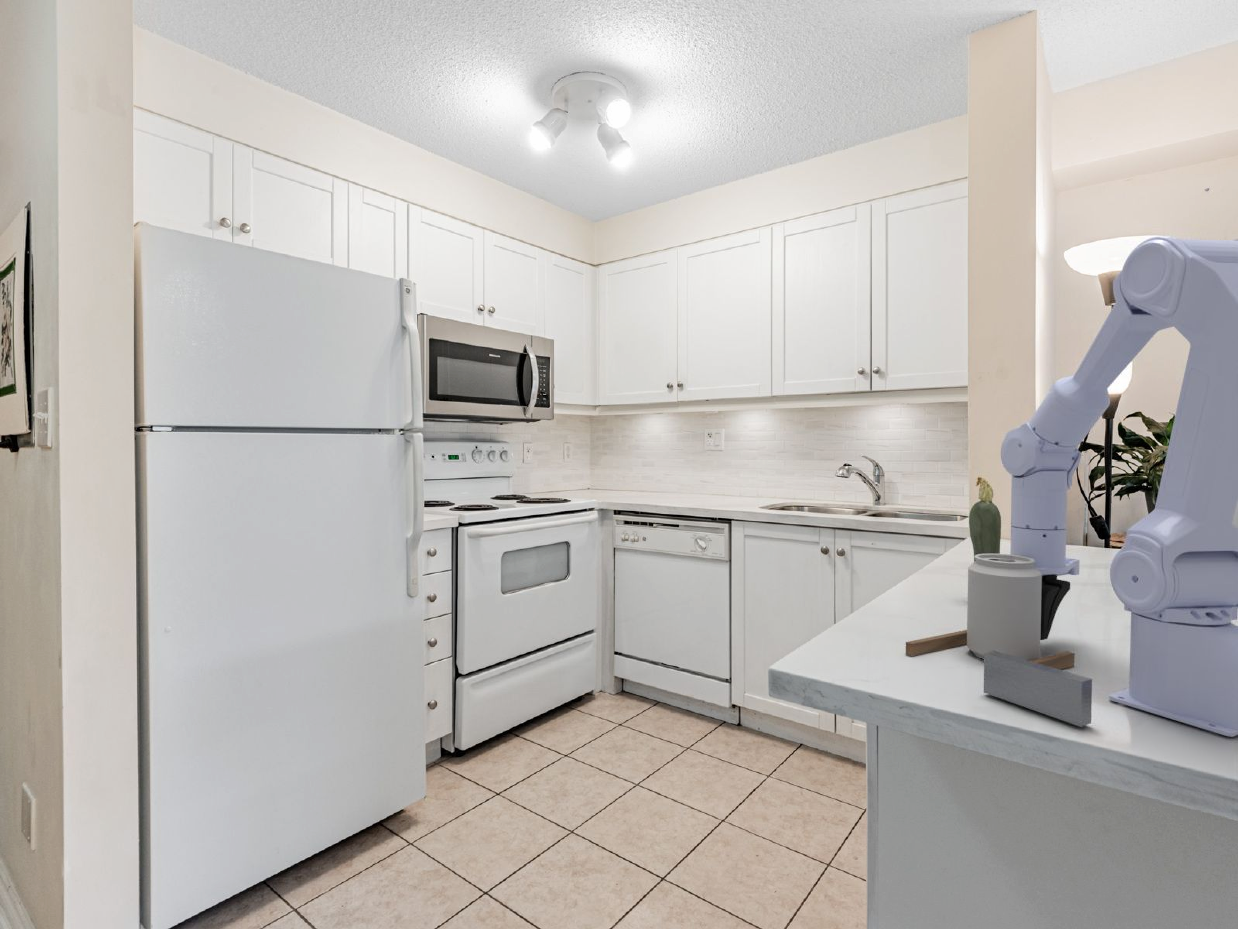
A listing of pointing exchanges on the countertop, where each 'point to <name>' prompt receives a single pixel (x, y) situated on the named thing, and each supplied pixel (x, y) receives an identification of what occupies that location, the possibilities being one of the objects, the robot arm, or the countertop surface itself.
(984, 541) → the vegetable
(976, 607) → the can
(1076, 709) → the bar
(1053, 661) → the pair of wooden slats
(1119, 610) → the countertop surface
